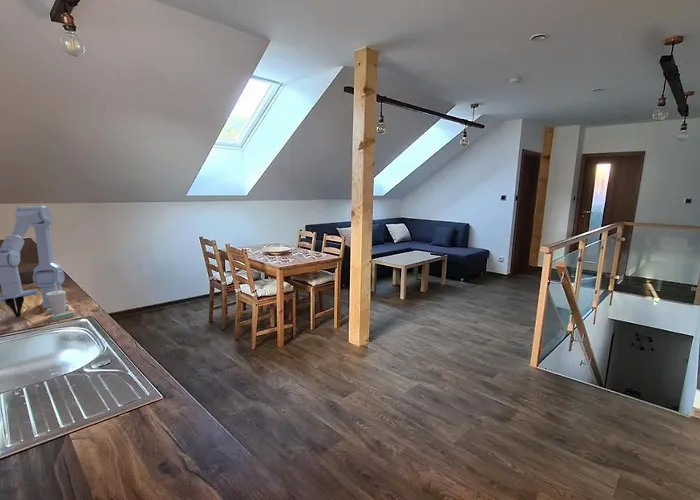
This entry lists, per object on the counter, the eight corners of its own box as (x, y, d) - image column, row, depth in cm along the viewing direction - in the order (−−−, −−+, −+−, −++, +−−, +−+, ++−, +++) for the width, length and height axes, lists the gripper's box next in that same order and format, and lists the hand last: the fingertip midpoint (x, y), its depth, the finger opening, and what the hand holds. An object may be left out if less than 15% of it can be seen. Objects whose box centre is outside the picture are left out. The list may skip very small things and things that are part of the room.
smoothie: (59, 318, 150) (53, 284, 147) (45, 317, 150) (39, 284, 148) (73, 312, 156) (67, 280, 153) (59, 311, 157) (54, 279, 154)
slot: (47, 313, 155) (46, 309, 155) (68, 308, 160) (67, 304, 160) (52, 321, 146) (51, 317, 146) (73, 316, 151) (73, 312, 151)
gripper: (-16, 289, 133) (-7, 324, 136) (36, 280, 143) (43, 313, 146) (-16, 285, 138) (-8, 319, 141) (34, 277, 148) (41, 309, 151)
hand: (18, 316), depth 144 cm, fingers closed
